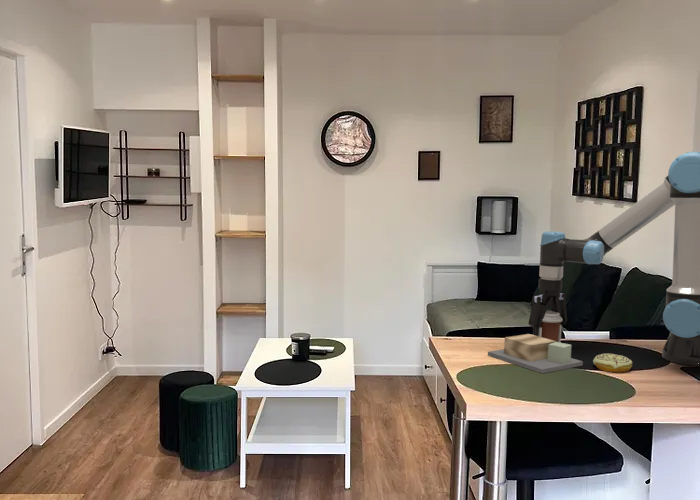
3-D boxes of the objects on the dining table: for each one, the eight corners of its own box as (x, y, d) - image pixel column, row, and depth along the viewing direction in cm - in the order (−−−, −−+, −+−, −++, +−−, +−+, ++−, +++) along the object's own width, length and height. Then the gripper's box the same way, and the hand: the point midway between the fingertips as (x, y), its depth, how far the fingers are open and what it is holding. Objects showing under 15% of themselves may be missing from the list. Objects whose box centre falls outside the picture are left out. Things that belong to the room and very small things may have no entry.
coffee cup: (551, 352, 214) (553, 316, 212) (527, 347, 220) (529, 311, 219) (566, 348, 220) (568, 313, 218) (541, 343, 226) (543, 308, 225)
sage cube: (570, 360, 200) (571, 344, 199) (563, 364, 196) (564, 347, 195) (554, 357, 203) (555, 341, 202) (547, 360, 199) (548, 344, 199)
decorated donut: (586, 367, 198) (587, 355, 198) (605, 362, 205) (606, 350, 204) (618, 376, 190) (619, 363, 190) (637, 370, 197) (638, 357, 196)
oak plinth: (555, 357, 204) (556, 341, 203) (530, 361, 198) (531, 345, 197) (528, 348, 213) (529, 333, 212) (503, 352, 207) (504, 337, 207)
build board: (582, 365, 200) (582, 361, 199) (542, 373, 190) (542, 369, 190) (527, 348, 218) (527, 345, 218) (487, 355, 208) (487, 351, 208)
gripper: (563, 274, 226) (559, 338, 229) (519, 278, 215) (515, 346, 217) (581, 277, 220) (577, 343, 223) (536, 281, 209) (532, 351, 211)
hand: (546, 344), depth 220 cm, fingers closed on coffee cup, 9 cm apart
